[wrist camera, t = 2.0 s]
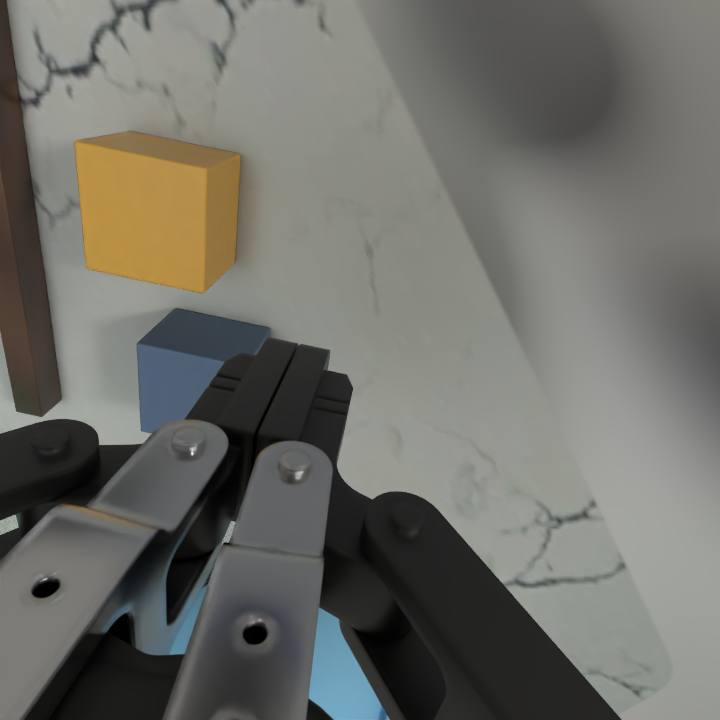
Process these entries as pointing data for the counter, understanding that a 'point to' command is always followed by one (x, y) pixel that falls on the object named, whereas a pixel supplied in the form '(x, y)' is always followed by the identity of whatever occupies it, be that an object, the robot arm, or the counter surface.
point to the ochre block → (158, 208)
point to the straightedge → (21, 257)
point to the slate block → (187, 361)
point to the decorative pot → (320, 670)
